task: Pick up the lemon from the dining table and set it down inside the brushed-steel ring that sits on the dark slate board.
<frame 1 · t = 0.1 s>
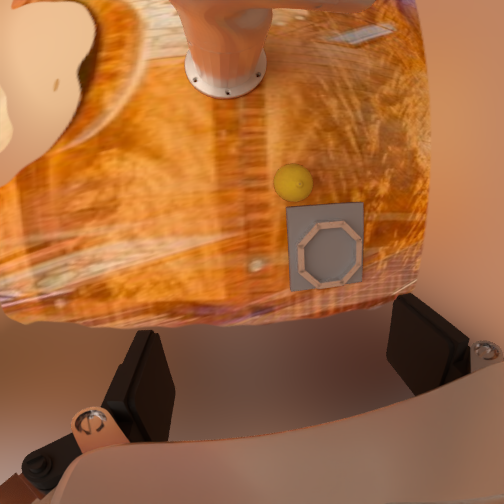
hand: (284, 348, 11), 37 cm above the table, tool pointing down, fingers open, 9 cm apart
board: (326, 245, 49), on the table
lemon: (287, 181, 45), on the table
ring: (328, 253, 48), resting on board
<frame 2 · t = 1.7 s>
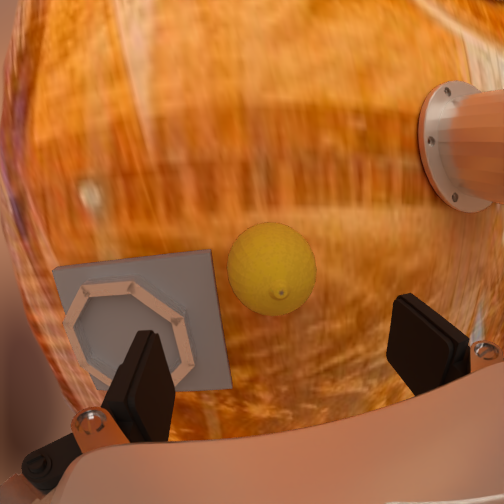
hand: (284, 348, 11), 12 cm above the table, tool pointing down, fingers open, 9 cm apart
board: (143, 329, 24), on the table
lemon: (264, 248, 23), on the table
ring: (129, 336, 23), resting on board
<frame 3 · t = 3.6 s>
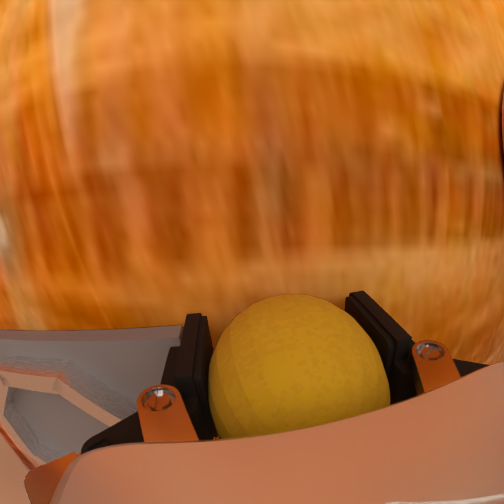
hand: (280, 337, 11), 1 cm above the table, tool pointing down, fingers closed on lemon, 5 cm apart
board: (95, 421, 14), on the table
lemon: (275, 322, 13), on the table, touching gripper
ring: (77, 431, 13), resting on board
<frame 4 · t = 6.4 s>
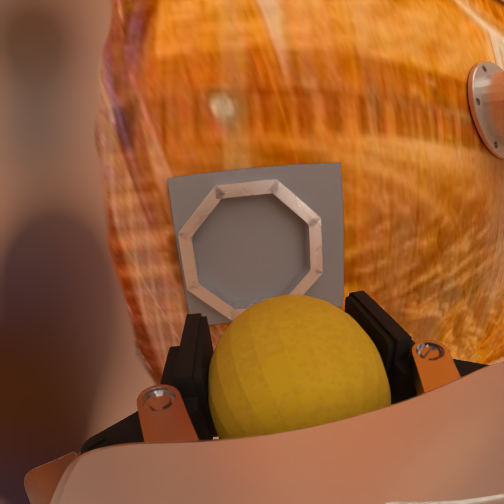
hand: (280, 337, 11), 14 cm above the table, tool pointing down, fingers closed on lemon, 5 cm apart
board: (262, 244, 25), on the table
lemon: (275, 322, 13), point 13 cm above the table, touching gripper
ring: (251, 249, 24), resting on board
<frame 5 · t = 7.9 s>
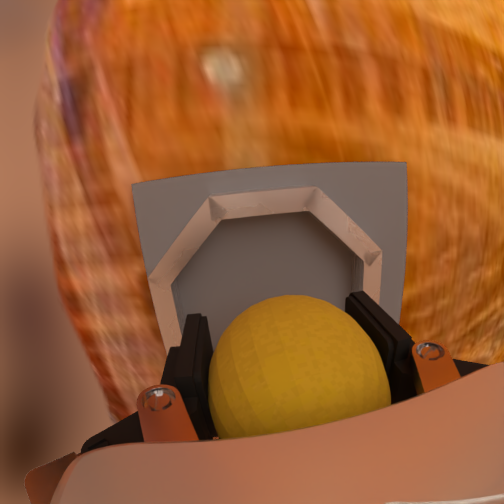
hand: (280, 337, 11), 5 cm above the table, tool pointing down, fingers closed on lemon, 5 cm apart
board: (284, 287, 16), on the table
lemon: (275, 322, 13), point 4 cm above the table, touching gripper
ring: (269, 297, 15), resting on board
when the fingers open (3 cm above the table, at t = 9.1 s): lemon drops 1 cm, resting on board.
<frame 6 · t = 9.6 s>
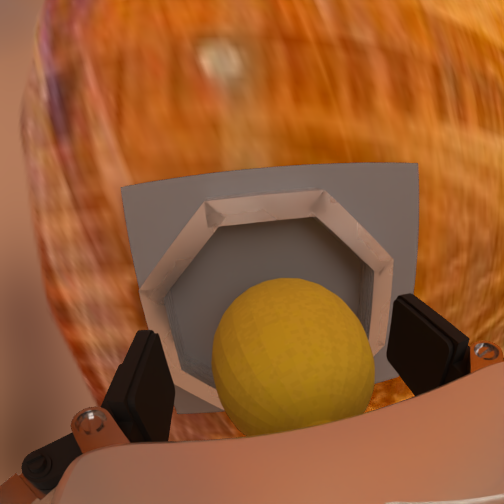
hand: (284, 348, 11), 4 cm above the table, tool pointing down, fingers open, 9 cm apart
board: (287, 298, 15), on the table
lemon: (271, 306, 14), point 1 cm above the table, touching board
ring: (271, 310, 14), resting on board
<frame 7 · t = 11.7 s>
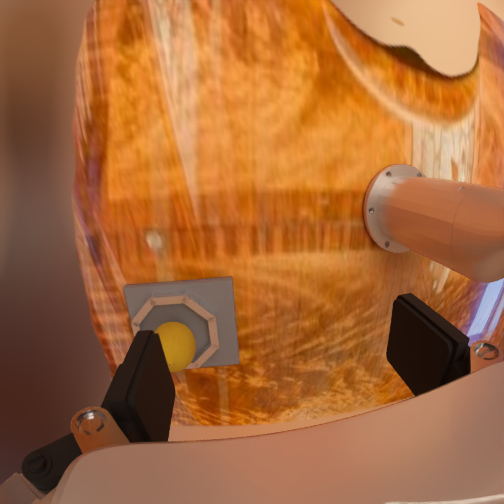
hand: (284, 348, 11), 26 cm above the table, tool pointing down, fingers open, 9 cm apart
board: (183, 325, 38), on the table
lemon: (176, 328, 38), point 1 cm above the table, touching board
ring: (175, 329, 37), resting on board
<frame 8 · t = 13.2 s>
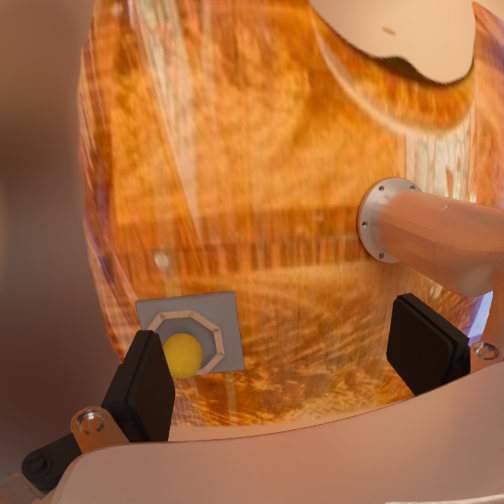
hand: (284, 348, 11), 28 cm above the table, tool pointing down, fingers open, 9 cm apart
board: (192, 335, 42), on the table
lemon: (185, 338, 41), point 1 cm above the table, touching board
ring: (184, 340, 41), resting on board
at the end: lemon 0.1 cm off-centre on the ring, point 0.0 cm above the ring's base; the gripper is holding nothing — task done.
